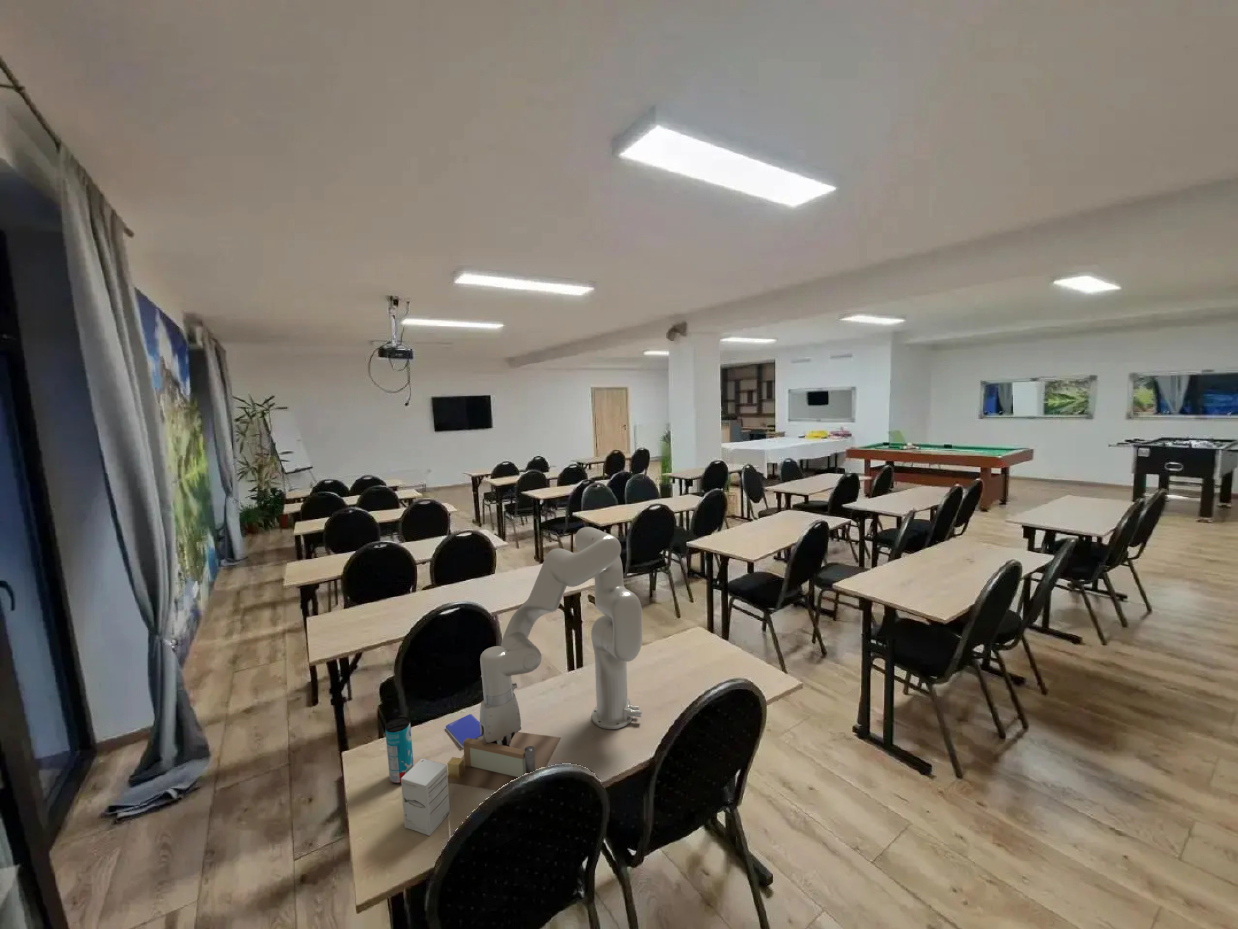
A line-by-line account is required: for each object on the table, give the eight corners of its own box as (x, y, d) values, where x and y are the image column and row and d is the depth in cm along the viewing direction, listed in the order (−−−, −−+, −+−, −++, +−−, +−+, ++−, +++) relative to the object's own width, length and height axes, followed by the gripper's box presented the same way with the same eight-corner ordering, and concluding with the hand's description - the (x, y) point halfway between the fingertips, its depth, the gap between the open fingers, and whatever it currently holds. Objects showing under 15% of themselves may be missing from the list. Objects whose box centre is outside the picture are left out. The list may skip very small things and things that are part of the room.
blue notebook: (445, 725, 150) (462, 744, 140) (471, 713, 155) (489, 730, 145) (445, 730, 150) (463, 749, 140) (471, 718, 155) (489, 735, 146)
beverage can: (413, 782, 129) (408, 728, 128) (388, 788, 128) (383, 733, 126) (415, 766, 135) (411, 714, 133) (391, 772, 133) (386, 719, 132)
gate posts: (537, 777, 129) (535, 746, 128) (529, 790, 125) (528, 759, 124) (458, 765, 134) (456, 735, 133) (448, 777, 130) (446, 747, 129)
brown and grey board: (527, 774, 129) (526, 750, 129) (524, 779, 128) (522, 755, 127) (468, 760, 135) (467, 737, 134) (464, 765, 133) (463, 742, 133)
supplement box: (403, 828, 115) (399, 778, 114) (426, 804, 122) (422, 756, 120) (429, 837, 112) (425, 786, 111) (451, 812, 119) (447, 763, 118)
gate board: (561, 739, 144) (561, 737, 144) (530, 798, 123) (530, 795, 123) (485, 729, 150) (484, 727, 150) (443, 783, 129) (443, 781, 128)
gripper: (518, 678, 140) (523, 738, 143) (465, 699, 131) (472, 763, 134) (530, 689, 134) (535, 752, 137) (476, 713, 125) (482, 779, 128)
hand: (504, 757), depth 135 cm, fingers closed
